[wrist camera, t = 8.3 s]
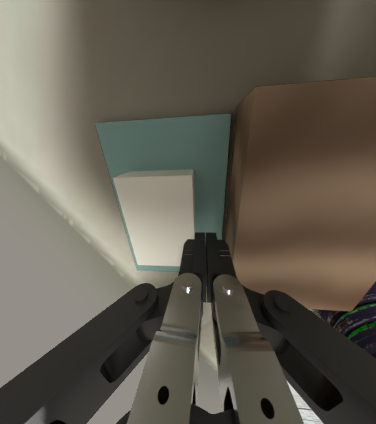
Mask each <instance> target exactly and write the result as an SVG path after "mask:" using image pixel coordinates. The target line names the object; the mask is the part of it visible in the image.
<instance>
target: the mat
mask: <svg viewBox="0 0 376 424" xmlns="http://www.w3.org/2000/svg"><path fill="white" fill-rule="evenodd" d="M230 120H231V113H230V114H216V115H202V116H187V117H173V118H159V119H144V120H130V121H116V122H101V123H95V126H96V130H97V133H98V137H99V140H100V144H101V147H102V151H103V154H104V158H105V161H106V164H107V168H108V171H109V175H110V178H111V182H112V185H113V189H114V192H115V196H116V199H117V203H118V206H119V210H120V213H121V217H122V220H123V223H124V227H125V230H126V234H127V237H128V241H129V244H130V248H131V251H132V255H133V258H134V262H135V265H136V269H137V270H147V271H173V272H179V270H180V266H151V265H137V261H136V258H135V254H134V251H133V247H132V244H131V240H130V237H129V233H128V230H127V226H126V223H125V219H124V216H123V212H122V209H121V205H120V202H119V198H118V195H117V191H116V188H115V184H114V181H113V178H114V177H117V176H119V175H122V174H125V173H127V172H130V171H155V170H182V169H194V190H195V224H196V232H205V245H206V232H216V236H217V240H222V227H223V214H224V200H225V187H226V174H227V160H228V147H229V134H230Z"/></svg>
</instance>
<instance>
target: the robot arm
mask: <svg viewBox="0 0 376 424" xmlns="http://www.w3.org/2000/svg"><path fill="white" fill-rule="evenodd" d="M206 284H207V302H210V303H211V307H212V326H213V334H214V342H215V350H216V358H217V366H218V381H219V392H220V401H221V408H222V412H220V413H218V414H210V413H208V412H207V411H205V410H203V409H202V408H200V407H198V406H197V390H198V368H199V352H200V336H201V321H202V315H203V302H206ZM148 352H149V353H148ZM147 353H148V356H147V360H146V363H145V366H144V369H143V373H142V376H141V379H140V382H139V386H138V389H137V392H136V396H135V398H134V402H133V405H132V408H131V410H130V411H129V412H128V413H126V414H125V415H124V416H123V417H122V418H121V419H120V420H119V421H118V422H117V423H116V424H304V422H303V419H302V417H301V415H300V412H299V410H298V407H297V405H296V402H295V400H294V398H293V395H292V393H291V390H290V388H289V385H288V383H289V384H290V385H291V386H292V387H293V388H294V390H295V391H296V392H297V393H298V394H299V395H300V397H301V398H302V399H303V400H304V401H305V402H306V404H307V405H308V406H309V407H310V408H311V409H312V411H313V412H314V413H315V414H316V415H317V416H318V418H319V419H320V420H321V421H322V422H323V423H324V424H376V358H374V357H373V356H372V355H370V354H369V353H368V352H366V351H365V350H363V349H362V348H361V347H359V346H358V345H357V344H355V343H354V342H352V341H351V340H350V339H348V338H347V337H346V336H344V335H343V334H341V333H340V332H339V331H337V330H336V329H335V328H333V327H332V326H330V325H329V324H328V323H326V322H325V321H324V320H322V319H321V318H319V317H318V316H317V315H315V314H314V313H313V312H311V311H310V310H308V309H307V308H306V307H304V306H303V305H302V304H300V303H299V302H297V301H296V300H295V299H293V298H292V297H291V296H289V295H288V294H286V293H284V292H281V291H278V290H270V291H268V292H266V293H265V295H264V294H261V293H258V292H255V291H252V290H250V289H248V288H246V287H245V286H243V285H242V284H241V282H240V281H239V280H238V278H237V276H236V273H235V269H234V265H233V261H232V258H231V254H230V250H229V246H228V244H227V243H226V242H225V241H224V240H217V236H216V232H206V245H205V232H195V239H187V241H186V242H185V243H184V247H183V252H182V258H181V264H180V270H179V275H178V277H177V278H176V279H175V281H174V282H173V283H172V284H170V285H168V286H165V287H161V288H158V289H156V288H155V287H154V286H153V285H151V284H149V283H144V284H140V285H138V286H136V287H134V288H133V289H132V290H131V291H129V292H128V293H126V294H125V295H124V296H122V297H121V298H120V299H118V300H117V301H116V302H114V303H113V304H112V305H110V306H109V307H108V308H106V309H105V310H104V311H102V312H101V313H100V314H98V315H97V316H96V317H94V318H93V319H92V320H90V321H89V322H88V323H86V324H85V325H84V326H83V327H81V328H80V329H79V330H77V331H76V332H75V333H73V334H72V335H71V336H69V337H68V338H66V339H65V340H64V341H62V342H61V343H60V344H58V345H57V346H56V347H55V348H53V349H52V350H50V351H49V352H48V353H46V354H45V355H44V356H43V357H41V358H40V359H39V360H37V361H36V362H34V363H33V364H32V365H30V366H29V367H28V368H26V369H25V370H24V371H23V372H21V373H20V374H18V375H17V376H16V377H15V378H13V379H12V380H10V381H9V382H8V383H7V384H5V385H4V386H3V387H1V388H0V424H86V423H87V422H88V421H89V420H90V419H91V418H92V417H93V415H94V414H95V413H96V412H97V411H98V410H99V408H100V407H101V406H102V405H103V404H104V403H105V401H106V400H107V399H108V398H109V397H110V396H111V394H112V393H113V392H114V391H115V390H116V389H117V388H118V386H119V385H120V384H121V383H122V382H123V381H124V380H125V378H126V377H127V376H128V375H129V374H130V373H131V371H132V370H133V369H134V368H135V367H136V366H137V364H138V363H139V362H140V361H141V360H142V359H143V358H144V356H145V355H146V354H147ZM286 380H287V381H288V383H287V381H286Z"/></svg>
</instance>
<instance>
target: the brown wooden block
mask: <svg viewBox="0 0 376 424" xmlns="http://www.w3.org/2000/svg"><path fill="white" fill-rule="evenodd" d="M225 242H226V243H227V244H228V246H229V250H230V254H231V258H232V261H233V265H234V269H235V273H236V276H237V278H238V280H239V281H240V282H241V284H242V285H243V286H245V287H246V288H248V289H250V290H252V291H255V292H258V293H261V294H264V295H265V293H266V292H268V291H270V290H278V291H281V292H284V293H286V294H288V295H289V296H291V297H292V298H293V299H295V300H296V301H297V302H299V303H300V304H302V305H303V306H304V307H306V308H307V309H319V310H335V311H352V310H353V309H354V308H355V306H356V305H357V304H358V303H359V301H360V300H361V299H362V298H363V296H364V295H365V294H366V293H367V291H368V290H369V289H370V288H371V287H372V285H373V284H374V283H375V282H376V76H375V77H363V78H352V79H340V80H329V81H317V82H306V83H294V84H282V85H271V86H259V87H255V88H254V89H253V90H252V91H251V92H250V93H249V94H248V95H247V96H246V97H245V98H244V100H243V101H242V102H241V103H240V104H239V105H238V106H237V113H236V124H235V135H234V146H233V158H232V169H231V180H230V191H229V202H228V214H227V225H226V236H225Z"/></svg>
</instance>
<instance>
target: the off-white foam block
mask: <svg viewBox="0 0 376 424" xmlns="http://www.w3.org/2000/svg"><path fill="white" fill-rule="evenodd" d="M113 181H114V184H115V188H116V191H117V195H118V198H119V202H120V205H121V209H122V212H123V216H124V219H125V223H126V226H127V230H128V233H129V237H130V240H131V244H132V247H133V251H134V254H135V258H136V261H137V265H151V266H180V264H181V258H182V252H183V247H184V243H185V242H186V241H187V239H195V232H196V224H195V190H194V169H182V170H155V171H130V172H127V173H125V174H122V175H119V176H117V177H114V178H113Z"/></svg>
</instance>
